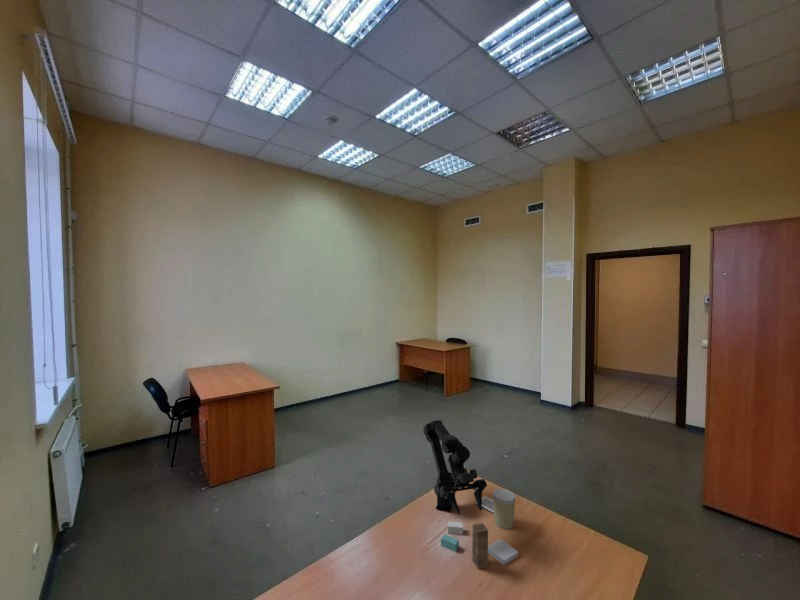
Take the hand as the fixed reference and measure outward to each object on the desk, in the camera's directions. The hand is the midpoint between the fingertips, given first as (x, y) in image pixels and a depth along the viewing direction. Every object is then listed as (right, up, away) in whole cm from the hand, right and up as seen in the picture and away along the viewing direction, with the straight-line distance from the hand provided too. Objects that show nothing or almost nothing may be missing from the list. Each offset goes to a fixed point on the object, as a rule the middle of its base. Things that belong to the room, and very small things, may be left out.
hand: (470, 512), depth 126 cm
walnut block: (+2, -13, -8) cm, 16 cm away
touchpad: (+16, -14, +24) cm, 32 cm away
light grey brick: (-4, -14, +9) cm, 17 cm away
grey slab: (+11, -14, -3) cm, 18 cm away
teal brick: (-8, -14, 0) cm, 16 cm away
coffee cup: (+17, -14, +14) cm, 26 cm away
